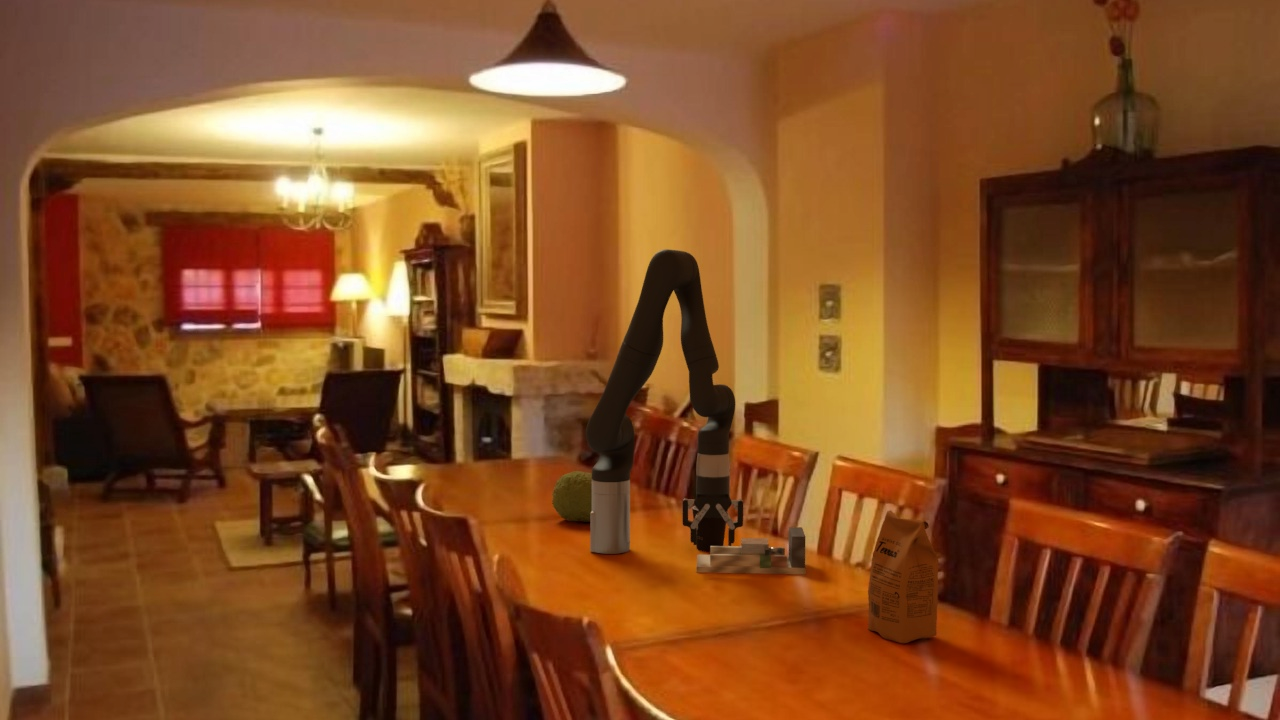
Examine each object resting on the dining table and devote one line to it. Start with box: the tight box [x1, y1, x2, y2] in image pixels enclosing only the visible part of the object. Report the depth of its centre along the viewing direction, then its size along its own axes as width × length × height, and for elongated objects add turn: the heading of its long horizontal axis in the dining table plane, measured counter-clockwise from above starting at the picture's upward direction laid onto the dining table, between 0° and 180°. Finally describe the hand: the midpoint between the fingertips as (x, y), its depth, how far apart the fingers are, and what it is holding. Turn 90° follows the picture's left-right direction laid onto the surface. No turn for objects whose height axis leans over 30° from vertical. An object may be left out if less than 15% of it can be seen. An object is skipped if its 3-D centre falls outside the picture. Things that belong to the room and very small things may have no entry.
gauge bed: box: [696, 526, 806, 575], centre depth 259 cm, size 24×12×8 cm, turn 86°
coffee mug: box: [691, 505, 729, 553], centre depth 278 cm, size 12×9×10 cm
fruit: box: [551, 470, 592, 523], centre depth 309 cm, size 16×14×15 cm
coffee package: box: [867, 510, 939, 644], centre depth 208 cm, size 10×12×22 cm
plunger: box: [740, 537, 782, 555], centre depth 257 cm, size 9×9×4 cm
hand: (712, 544), depth 259 cm, fingers open, 7 cm apart
